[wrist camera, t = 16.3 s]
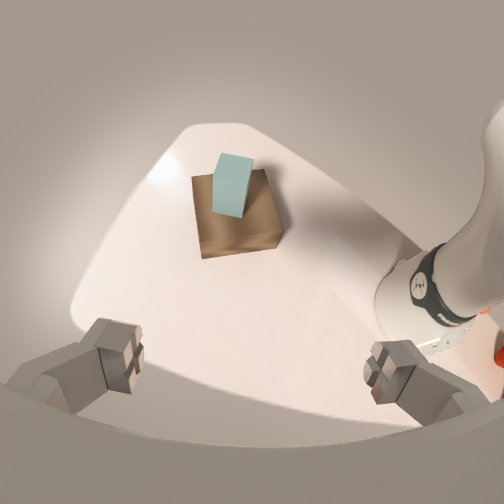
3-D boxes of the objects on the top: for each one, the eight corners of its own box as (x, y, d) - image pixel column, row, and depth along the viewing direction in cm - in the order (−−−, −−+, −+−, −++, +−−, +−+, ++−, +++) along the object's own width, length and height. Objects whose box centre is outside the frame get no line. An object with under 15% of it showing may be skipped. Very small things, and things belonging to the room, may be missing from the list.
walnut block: (259, 191, 52) (263, 169, 47) (275, 249, 47) (283, 230, 42) (193, 198, 50) (191, 176, 44) (202, 259, 45) (200, 242, 39)
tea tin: (247, 194, 44) (253, 159, 37) (241, 218, 42) (247, 183, 35) (219, 189, 44) (221, 152, 37) (212, 212, 42) (212, 176, 35)
